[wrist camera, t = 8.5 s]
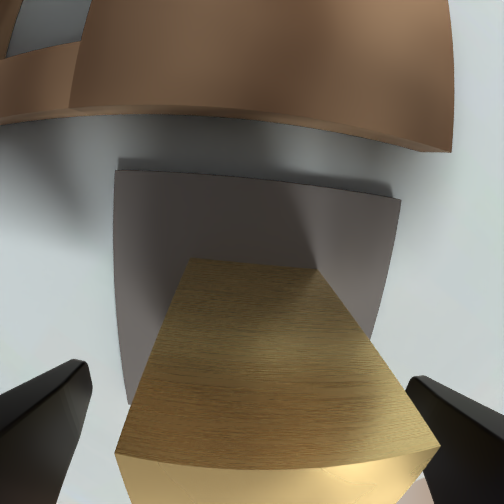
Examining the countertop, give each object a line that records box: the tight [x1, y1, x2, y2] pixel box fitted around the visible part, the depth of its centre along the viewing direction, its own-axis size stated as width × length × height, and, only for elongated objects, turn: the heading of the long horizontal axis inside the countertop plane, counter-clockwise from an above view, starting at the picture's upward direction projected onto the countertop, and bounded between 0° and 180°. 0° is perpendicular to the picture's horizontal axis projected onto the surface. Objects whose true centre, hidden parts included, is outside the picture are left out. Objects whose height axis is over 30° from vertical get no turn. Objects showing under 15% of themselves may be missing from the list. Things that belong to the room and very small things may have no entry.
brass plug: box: [114, 258, 441, 504], centre depth 8 cm, size 4×4×8 cm
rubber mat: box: [113, 170, 401, 405], centre depth 12 cm, size 10×10×1 cm
